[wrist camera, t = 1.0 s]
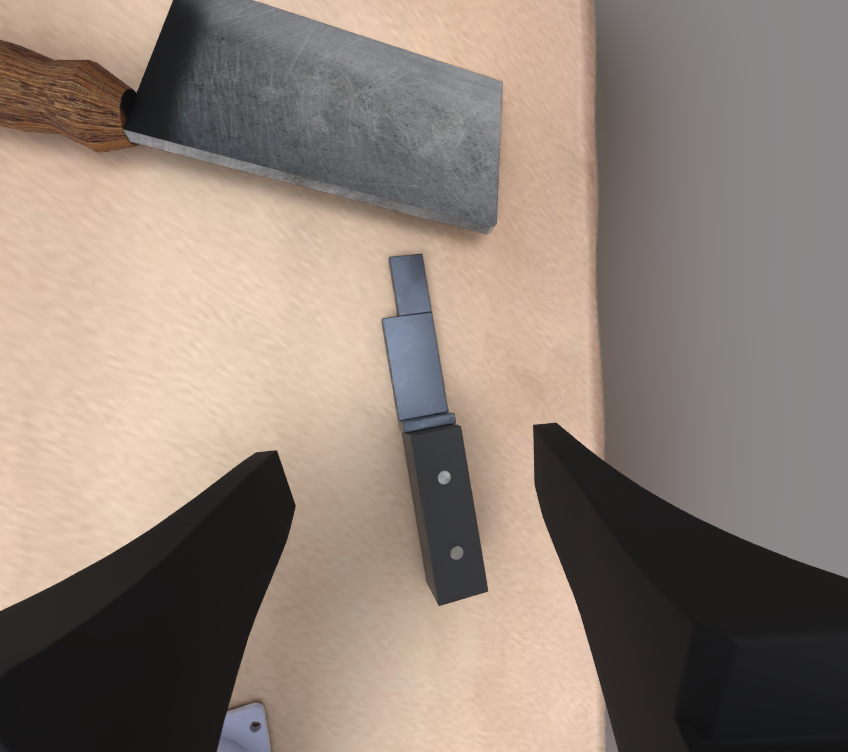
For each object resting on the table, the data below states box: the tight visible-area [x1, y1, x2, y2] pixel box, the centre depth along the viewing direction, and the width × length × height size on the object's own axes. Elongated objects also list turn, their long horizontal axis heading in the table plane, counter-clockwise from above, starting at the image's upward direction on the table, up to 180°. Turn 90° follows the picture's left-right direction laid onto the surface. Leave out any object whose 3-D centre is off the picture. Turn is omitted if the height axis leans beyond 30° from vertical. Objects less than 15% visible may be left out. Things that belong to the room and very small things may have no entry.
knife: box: [382, 254, 488, 606], centre depth 23 cm, size 19×3×3 cm, turn 10°
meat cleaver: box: [0, 0, 502, 234], centre depth 21 cm, size 34×11×4 cm, turn 83°
